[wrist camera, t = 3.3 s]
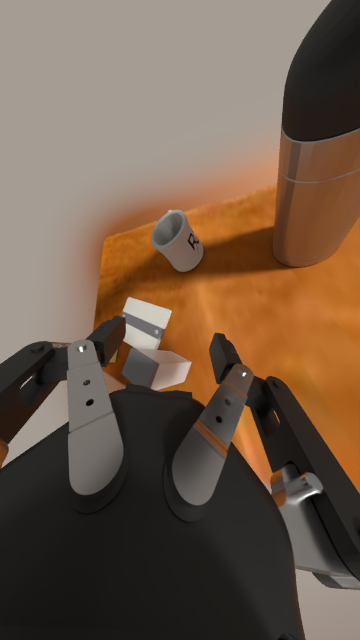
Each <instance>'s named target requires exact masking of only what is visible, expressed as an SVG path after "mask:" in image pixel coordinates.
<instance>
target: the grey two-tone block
mask: <svg viewBox="0 0 360 640" xmlns="http://www.w3.org/2000/svg"><path fill="white" fill-rule="evenodd" d="M190 365H191V361H189V360H187V359H185V358H183V357H181V356H179V355H178V354H176V353H174V352H172V351H164V350H149V349H134V348H131V349H130V352H129V355H128V357H127V360H126V362H125V365H124V367H123V370H122V373H121V374H122V375H123V376H124V377H126V378H127V379H128V380H129V381H130V382H131V383H132V384H135V385H142V386H146V387H148V388H150V389H153V390H155V391H156V390H159V389H162V388H165V387H169V386H172V385H175V384H178V383H182V382H184V381H185V378H186V376H187V373H188V370H189V368H190Z"/></svg>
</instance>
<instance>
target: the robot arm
mask: <svg viewBox="0 0 360 640" xmlns="http://www.w3.org/2000/svg"><path fill="white" fill-rule="evenodd" d="M359 217H360V0H331V2H330V3H329V4H328V5H327V7H326V8H325V9H324V10H323V12H322V13H321V14H320V16H319V17H318V19H317V20H316V21H315V23H314V24H313V26H312V27H311V29H310V30H309V32H308V33H307V35H306V37H305V38H304V39H303V41H302V43H301V45H300V46H299V48H298V50H297V52H296V54H295V56H294V58H293V61H292V64H291V66H290V69H289V72H288V76H287V80H286V84H285V91H284V98H283V112H282V125H281V139H280V152H279V168H278V182H277V195H276V209H275V222H274V235H273V249H272V250H273V255H274V256H275V258H276V259H277V260H278V261H279V262H281V263H282V264H285V265H288V266H293V267H304V266H309V265H313V264H316V263H319V262H321V261H323V260H325V259H327V258H328V257H329V256H331V255H332V254H333V253H334V252H335V251H336V250H337V249H338V248H339V246H340V245H341V243H342V242H343V240H344V239H345V237H346V236H347V234H348V233H349V232H350V230H351V229H352V227H353V226H354V224H355V223H356V222H357V220H358V219H359ZM125 335H126V318H125V317H121V316H115V317H114V318H113V319H112V320H108V321H106V322H103V323H102V324H101V325H100V326H99V327H98V328H97V329H96V330H95V331H94V332H93V333H92V334H91V335H90V336H89V337H87V338H86V339H85V340H79V341H76V342H73V343H72V344H70V345H69V347H62V348H54V347H53V344H52V343H51V342H47V341H43V342H36V343H32V344H30V345H28V346H26V347H24V348H23V349H21V350H20V351H18V352H17V353H15V354H14V355H13V356H11V357H10V358H8V359H7V360H5V361H4V362H3V363H1V364H0V640H306V639H305V634H304V630H303V625H302V620H301V614H300V608H299V603H298V594H297V587H296V574H295V569H299V570H304V571H309V572H312V573H313V575H314V576H315V577H316V578H317V579H318V580H319V581H320V582H321V583H322V584H324V585H325V586H327V587H329V588H339V589H351V590H360V494H359V492H358V491H357V489H356V488H355V486H354V485H353V483H352V482H351V480H350V479H349V477H348V476H347V474H346V473H345V471H344V470H343V468H342V467H341V466H340V464H339V463H338V461H337V460H336V458H335V457H334V455H333V454H332V452H331V451H330V449H329V448H328V446H327V445H326V443H325V442H324V440H323V439H322V437H321V436H320V434H319V433H318V431H317V430H316V428H315V427H314V425H313V424H312V422H311V421H310V419H309V418H308V416H307V415H306V413H305V412H304V410H303V409H302V407H301V406H300V404H299V403H298V401H297V400H296V398H295V397H294V395H293V394H292V392H291V391H290V389H289V388H288V386H287V385H286V384H285V383H284V382H283V381H281V380H280V379H278V378H276V377H273V376H269V377H267V378H266V380H264V379H261V378H259V377H256V376H254V374H253V372H252V371H251V370H250V369H249V368H248V367H247V366H245V365H243V364H242V362H241V360H240V358H239V356H238V354H237V352H236V350H235V347H234V345H233V344H232V343H231V342H230V341H229V340H227V339H226V337H225V335H224V334H221V333H215V334H214V337H213V339H212V342H211V345H210V349H209V352H210V357H211V361H212V366H213V370H214V374H215V379H216V383H217V384H221V385H220V386H219V388H218V389H217V391H216V392H215V394H214V395H213V397H212V398H211V400H210V401H209V403H208V404H207V406H206V407H205V406H204V405H203V404H201V403H200V402H199V401H197V400H195V399H193V398H192V392H185V391H178V390H175V391H166V392H158V391H155V390H153V389H150V388H148V387H146V386H142V385H135V384H127V386H126V388H125V389H121V390H117V391H114V392H112V393H110V394H108V391H107V387H106V384H105V380H104V377H103V373H102V369H101V367H106V366H107V365H108V363H109V362H110V360H111V359H112V357H113V355H114V354H115V352H116V351H117V349H118V348H119V346H120V345H121V343H122V341H123V340H124V338H125ZM31 376H32V378H31V379H30V380H29V381H28V382H27V383H26V384H25V385H24V386H23V387H22V388H21V386H22V384H23V383H24V382H25V381H27V379H29V378H30V377H31ZM63 380H67V388H68V411H69V421H68V422H67V423H65V424H64V425H63V426H61V427H60V428H58V429H57V430H55V431H54V432H52V433H51V434H50V435H48V436H47V437H45V438H44V439H42V440H41V441H40V442H38V443H37V444H35V445H34V446H32V447H31V448H29V449H28V450H27V451H25V452H24V453H22V454H21V455H19V456H18V457H16V458H15V459H14V460H12V461H11V462H9V463H8V464H7V465H5V466H4V467H3V468H1V467H2V463H3V462H4V460H5V458H6V456H7V454H8V451H9V447H8V444H9V443H10V441H11V440H12V439H13V438H14V436H15V435H16V434H17V433H18V432H19V431H20V429H21V428H22V427H23V426H24V424H25V423H26V422H27V421H28V419H29V418H30V417H31V416H32V415H33V413H34V412H35V411H36V410H37V409H38V408H39V406H40V405H41V404H42V403H43V402H44V400H45V399H46V398H47V397H48V395H49V394H50V393H51V392H52V391H53V389H54V388H55V387H56V386H57V385H58V383H59V382H60V381H63ZM20 388H21V389H20ZM245 405H246V406H248V407H250V409H251V412H252V415H253V418H254V421H255V423H256V426H257V429H258V432H259V435H260V438H261V441H262V444H263V446H264V449H265V452H266V455H267V458H268V461H269V464H270V467H271V469H272V472H273V474H272V476H271V480H270V483H271V489H272V493H271V494H270V493H269V491H268V490H267V488H266V487H265V486H264V484H263V483H262V482H261V480H260V479H259V478H258V476H257V475H256V474H255V472H254V471H253V470H252V468H251V467H250V466H249V464H248V463H247V461H246V460H245V459H244V457H243V456H242V455H241V453H240V452H239V451H238V449H237V448H236V447H235V445H234V444H233V443H232V441H231V440H232V437H233V435H234V432H235V429H236V427H237V424H238V421H239V419H240V416H241V413H242V411H243V408H244V406H245ZM274 411H275V412H276V414H277V416H278V418H279V421H280V424H279V422H278V420H277V417H276V415H275V413H274Z"/></svg>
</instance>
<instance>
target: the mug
mask: <svg viewBox="0 0 360 640" xmlns="http://www.w3.org/2000/svg"><path fill="white" fill-rule="evenodd" d="M151 243H152V245H153V247H154V248H156V249H157V250H158V251H159V252H161V253H162V254H163V255H164V256H165V257H166V258H167V259H168V260H169V261H170V263H171V264H172V266H173V267H174V268H175V269H176V270H177V271H180V272H186V271H189V270H191V269H193V268H194V267H196V266H197V265H198V263H199V262H200V261H201V259H202V256H203V251H204V249H203V245H202V243H201V242H200V241H199V239H198V238H197V237H196V236H195V234H194V232H193V231H192V229H191V227H190V225H189V223H188V220H187V218H186V215H185V214H184V213H183V212H182V211H180V210H173V211H172V210H169V211H168V213H167V214H165V215H164V216H163V217H162V218H161V219H160V220H159V221H158V222H157V224H156V225H155V227H154V229H153V232H152V235H151Z"/></svg>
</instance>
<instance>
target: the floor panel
mask: <svg viewBox="0 0 360 640" xmlns="http://www.w3.org/2000/svg"><path fill="white" fill-rule="evenodd" d="M171 312H172V311H171V310H168V309H165V308H162V307H159V306H156V305H153V304H150V303H146V302H143V301H140V300H137V299H134V298H131V297H128V299H127V302H126V304H125V307H124V309H123V312H122V314H121V317H125V318H126V335H125V338H124V340H123V341H125V342H126V343H128V344H129V345H131V346H133V347H134V348H136V349H149V350H157V349H158V346H159V344H160V341H161V338H162V336H163V333H164V331H165V328H166V325H167V323H168V320H169V318H170V315H171Z"/></svg>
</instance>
